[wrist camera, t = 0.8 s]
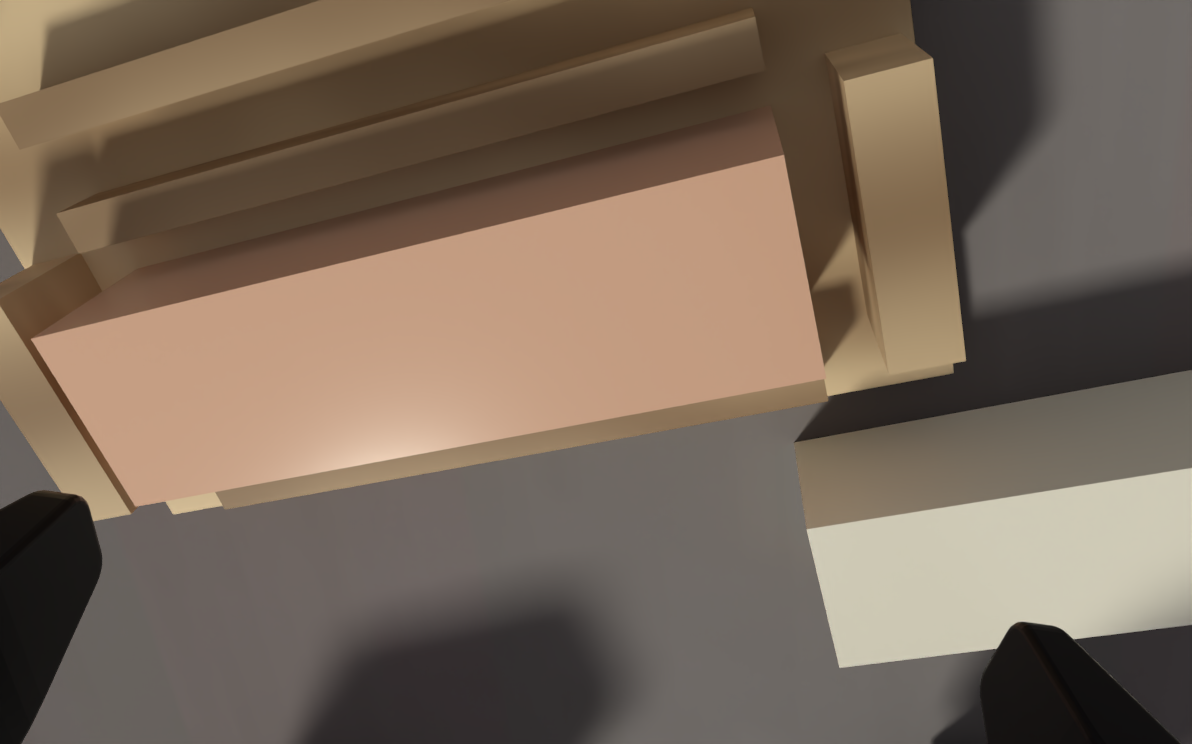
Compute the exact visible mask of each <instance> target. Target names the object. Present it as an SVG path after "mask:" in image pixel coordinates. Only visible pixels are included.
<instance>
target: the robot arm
mask: <svg viewBox="0 0 1192 744" xmlns="http://www.w3.org/2000/svg"><path fill="white" fill-rule="evenodd" d="M101 568H102V553H101V549H100V545H99V541H98V537H97V534H96V530H95V526H94V523H93V519H92V515H91V511H90V508H89V505H88V503H87V501H86V500H85V499H84V498H83V497H82V496H79V495H76V494H68V493H61V492H54V491H45V490H43V491H36V492H33V493H31V494H28V495H26V496H24V497H22V498H21V499H19V500H17V501H15V502H13V503H11V504H9V505H7V506H6V507H4V508H2V509H0V744H21V743H22V741H23V740H24V738H25V736H26V734H27V733H28V731H29V729H30V727H31V725H32V723H33V721H34V719H35V717H36V715H37V713H38V711H39V709H40V707H41V705H42V703H43V701H44V699H45V696H46V694H47V692H48V690H49V687H50V685H51V683H52V681H53V679H54V676H55V674H56V672H57V670H58V668H59V665H60V663H61V661H62V659H63V657H64V654H65V652H66V650H67V648H68V646H69V643H70V641H71V639H72V637H73V635H74V632H75V630H76V628H77V626H78V624H79V621H80V619H81V617H82V615H83V613H84V610H85V608H86V606H87V604H88V602H89V599H90V597H91V595H92V593H93V591H94V588H95V586H96V584H97V582H98V579H99V576H100V573H101ZM980 697H981V705H982V712H983V718H984V725H985V732H986V738H987V744H1181V743H1180V742H1179V741H1178V740H1177V739H1176V738H1175V737H1174V736H1173V735H1172V734H1171V733H1170V732H1169V731H1168V730H1167V729H1166V728H1165V727H1164V726H1163V725H1162V724H1160V723H1159V722H1158V721H1157V720H1156V719H1155V718H1154V717H1153V716H1152V715H1151V714H1150V713H1149V712H1148V711H1147V710H1146V709H1145V708H1144V707H1143V706H1142V705H1141V704H1140V703H1139V702H1138V701H1137V700H1136V699H1135V698H1134V697H1133V696H1132V695H1131V694H1130V693H1128V692H1127V691H1126V690H1125V689H1124V688H1123V687H1122V686H1121V685H1120V684H1119V683H1118V682H1117V681H1116V680H1115V679H1114V678H1113V677H1112V676H1111V675H1110V674H1109V673H1108V672H1107V671H1106V670H1105V669H1104V668H1103V667H1102V666H1101V665H1100V664H1099V663H1097V662H1096V661H1095V660H1094V659H1093V658H1092V657H1091V656H1090V655H1089V654H1088V653H1087V652H1086V651H1085V650H1084V649H1083V648H1082V647H1081V646H1080V645H1079V644H1078V643H1077V642H1076V641H1075V640H1074V639H1073V638H1072V637H1071V636H1070V635H1069V634H1067V633H1066V632H1065V631H1064V630H1062V629H1060V628H1058V627H1056V626H1052V625H1045V624H1037V623H1030V622H1017V623H1015V624H1014V625H1012V626H1011V627H1010V628H1009V629H1008V631H1007V632H1006V634H1005V636H1004V638H1003V639H1002V641H1001V643H1000V644H999V646H998V648H997V650H996V651H995V653H994V655H993V656H992V658H991V660H990V662H989V663H988V665H987V667H986V668H985V670H984V673H983V675H982V679H981V685H980Z"/></svg>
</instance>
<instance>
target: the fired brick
mask: <svg viewBox="0 0 1192 744" xmlns="http://www.w3.org/2000/svg"><path fill="white" fill-rule="evenodd" d="M31 340H32V342H33V343H34V345H35V346H36V348H37V350H38V351H39V353H40V354H41V356H42V358H43V359H44V361H45V362H46V364H47V366H48V367H49V369H50V370H51V372H52V374H53V375H54V377H55V378H56V380H57V382H58V383H59V385H60V386H61V388H62V390H63V391H64V393H65V394H66V396H67V398H68V399H69V401H70V403H71V404H72V406H73V407H74V409H75V411H76V412H77V414H78V415H79V417H80V419H81V420H82V422H83V423H84V425H85V427H86V428H87V430H88V431H89V433H90V435H91V436H92V438H93V439H94V441H95V443H96V444H97V446H98V447H99V449H100V451H101V452H102V454H103V455H104V457H105V459H106V460H107V462H108V463H109V465H110V467H111V468H112V470H113V471H114V473H115V475H116V476H117V478H118V479H119V481H120V483H121V484H122V486H123V487H124V489H125V491H126V492H127V494H128V495H129V497H130V499H131V500H132V502H133V503H134V505H135V507H137V506H142V505H148V504H153V503H158V502H164V501H169V500H175V499H180V498H185V497H191V496H196V495H202V494H207V493H212V492H218V491H223V490H229V489H234V488H239V487H245V486H250V485H256V484H261V483H266V482H272V481H277V480H282V479H288V478H293V477H299V476H304V475H309V474H315V473H320V472H326V471H331V470H336V469H342V468H347V467H353V466H358V465H363V464H369V463H374V462H380V461H385V460H390V459H396V458H401V457H407V456H412V455H417V454H423V453H428V452H434V451H439V450H444V449H450V448H455V447H461V446H466V445H471V444H477V443H482V442H488V441H493V440H498V439H504V438H509V437H515V436H520V435H525V434H531V433H536V432H541V431H547V430H552V429H558V428H563V427H568V426H574V425H579V424H585V423H590V422H595V421H601V420H606V419H612V418H617V417H622V416H628V415H633V414H639V413H644V412H649V411H655V410H660V409H666V408H671V407H676V406H682V405H687V404H693V403H698V402H703V401H709V400H714V399H720V398H725V397H730V396H736V395H741V394H747V393H752V392H757V391H763V390H768V389H774V388H779V387H784V386H790V385H795V384H800V383H806V382H811V381H817V380H822V379H826V374H825V369H824V363H823V358H822V353H821V348H820V342H819V337H818V332H817V326H816V321H815V316H814V311H813V305H812V300H811V295H810V290H809V284H808V279H807V274H806V268H805V263H804V258H803V253H802V247H801V242H800V237H799V231H798V226H797V221H796V216H795V210H794V205H793V200H792V194H791V189H790V184H789V179H788V173H787V168H786V163H785V158H784V153H783V149H782V145H781V142H780V138H779V134H778V131H777V127H776V123H775V119H774V116H773V112H772V108H771V105H770V106H766V107H763V108H759V109H755V110H751V111H747V112H743V113H739V114H735V115H731V116H728V117H724V118H720V119H716V120H712V121H708V122H704V123H700V124H697V125H693V126H689V127H685V128H681V129H677V130H673V131H669V132H666V133H662V134H658V135H654V136H650V137H646V138H642V139H638V140H635V141H631V142H627V143H623V144H619V145H615V146H611V147H607V148H603V149H600V150H596V151H592V152H588V153H584V154H580V155H576V156H572V157H569V158H565V159H561V160H557V161H553V162H549V163H545V164H541V165H538V166H534V167H530V168H526V169H522V170H518V171H514V172H510V173H507V174H503V175H499V176H495V177H491V178H487V179H483V180H479V181H475V182H472V183H468V184H464V185H460V186H456V187H452V188H448V189H444V190H441V191H437V192H433V193H429V194H425V195H421V196H417V197H413V198H410V199H406V200H402V201H398V202H394V203H390V204H386V205H382V206H379V207H375V208H371V209H367V210H363V211H359V212H355V213H351V214H347V215H344V216H340V217H336V218H332V219H328V220H324V221H320V222H316V223H313V224H309V225H305V226H301V227H297V228H293V229H289V230H285V231H282V232H278V233H274V234H270V235H266V236H262V237H258V238H254V239H251V240H247V241H243V242H239V243H235V244H231V245H227V246H223V247H219V248H216V249H212V250H208V251H204V252H200V253H196V254H192V255H188V256H185V257H181V258H177V259H173V260H169V261H165V262H161V263H157V264H154V265H150V266H146V267H142V268H138V269H136V270H134V271H133V272H131V273H130V274H128V275H127V276H125V277H124V278H122V279H121V280H119V281H118V282H116V283H115V284H113V285H111V286H110V287H108V288H107V289H105V290H104V291H102V292H101V293H99V294H98V295H96V296H95V297H93V298H92V299H90V300H89V301H87V302H86V303H84V304H83V305H81V306H80V307H78V308H77V309H75V310H74V311H72V312H71V313H69V314H68V315H66V316H65V317H63V318H62V319H60V320H59V321H57V322H56V323H54V324H53V325H51V326H50V327H48V328H46V329H45V330H43V331H42V332H40V333H39V334H37V335H36V336H34V337H33V338H31Z"/></svg>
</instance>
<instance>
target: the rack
mask: <svg viewBox="0 0 1192 744" xmlns="http://www.w3.org/2000/svg"><path fill="white" fill-rule="evenodd" d="M770 105H771V108H772V112H773V116H774V119H775V123H776V127H777V131H778V134H779V138H780V142H781V145H782V149H783V153H784V158H785V163H786V168H787V173H788V179H789V184H790V189H791V194H792V200H793V205H794V210H795V216H796V221H797V226H798V231H799V237H800V242H801V247H802V253H803V258H804V263H805V268H806V274H807V279H808V284H809V290H810V295H811V300H812V305H813V311H814V316H815V321H816V326H817V332H818V337H819V342H820V348H821V353H822V358H823V363H824V369H825V374H826V379H822V380H817V381H811V382H806V383H800V384H795V385H790V386H784V387H779V388H774V389H768V390H763V391H757V392H752V393H747V394H741V395H736V396H730V397H725V398H720V399H714V400H709V401H703V402H698V403H693V404H687V405H682V406H676V407H671V408H666V409H660V410H655V411H649V412H644V413H639V414H633V415H628V416H622V417H617V418H612V419H606V420H601V421H595V422H590V423H585V424H579V425H574V426H568V427H563V428H558V429H552V430H547V431H541V432H536V433H531V434H525V435H520V436H515V437H509V438H504V439H498V440H493V441H488V442H482V443H477V444H471V445H466V446H461V447H455V448H450V449H444V450H439V451H434V452H428V453H423V454H417V455H412V456H407V457H401V458H396V459H390V460H385V461H380V462H374V463H369V464H363V465H358V466H353V467H347V468H342V469H336V470H331V471H326V472H320V473H315V474H309V475H304V476H299V477H293V478H288V479H282V480H277V481H272V482H266V483H261V484H256V485H250V486H245V487H239V488H234V489H229V490H223V491H218V492H212V493H207V494H202V495H196V496H191V497H185V498H180V499H175V500H169V501H165V502H166V503H167V505H168V507H169V508H170V510H171V512H172V513H173V514H179V513H184V512H190V511H195V510H201V509H206V508H212V507H217V506H223V507H224V509H231V508H236V507H242V506H247V505H253V504H258V503H264V502H270V501H275V500H281V499H286V498H292V497H297V496H303V495H309V494H314V493H320V492H325V491H331V490H336V489H342V488H348V487H353V486H359V485H364V484H370V483H375V482H381V481H387V480H392V479H398V478H403V477H409V476H414V475H420V474H426V473H431V472H437V471H442V470H448V469H453V468H459V467H465V466H470V465H476V464H481V463H487V462H492V461H498V460H503V459H509V458H515V457H520V456H526V455H531V454H537V453H542V452H548V451H554V450H559V449H565V448H570V447H576V446H581V445H587V444H593V443H598V442H604V441H609V440H615V439H620V438H626V437H632V436H637V435H643V434H648V433H654V432H659V431H665V430H671V429H676V428H682V427H687V426H693V425H698V424H704V423H710V422H715V421H721V420H726V419H732V418H737V417H743V416H748V415H754V414H760V413H765V412H771V411H776V410H782V409H787V408H793V407H799V406H804V405H810V404H815V403H821V402H826V401H828V396H831V395H836V394H842V393H847V392H853V391H858V390H864V389H870V388H875V387H881V386H886V385H892V384H897V383H903V382H908V381H914V380H919V379H925V378H930V377H936V376H941V375H947V374H952V373H954V370H953V363H958V362H963V361H966V356H965V346H964V337H963V328H962V319H961V310H960V301H959V292H958V283H957V273H956V264H955V255H954V246H953V237H952V228H951V219H950V209H949V200H948V191H947V182H946V173H945V164H944V155H943V146H942V136H941V127H940V118H939V109H938V100H937V91H936V82H935V72H934V63H933V58H932V57H931V56H930V55H928V54H927V53H926V52H924V51H923V50H922V49H921V48H919V47H918V46H917V45H915V37H914V29H913V20H912V12H911V3H910V0H0V228H1V230H2V232H3V233H4V235H5V237H6V238H7V240H8V242H9V243H10V245H11V247H12V248H13V250H14V252H15V253H16V255H17V257H18V258H19V260H20V262H21V263H22V265H23V267H24V268H25V270H23V271H21V272H19V273H17V274H16V275H14V276H12V277H10V278H8V279H7V280H5V281H3V282H1V283H0V400H1V402H2V403H3V405H4V406H5V408H6V409H7V411H8V412H9V414H10V415H11V417H12V418H13V420H14V421H15V423H16V424H17V426H18V427H19V429H20V430H21V432H22V433H23V435H24V436H25V438H26V439H27V441H28V442H29V444H30V445H31V447H32V448H33V450H34V451H35V453H36V454H37V456H38V457H39V459H40V460H41V462H42V463H43V465H44V466H45V468H46V469H47V471H48V473H49V474H50V476H51V477H52V479H53V480H54V482H55V483H56V485H57V486H58V488H59V489H60V491H61V492H62V493H68V494H76V495H79V496H82V497H83V498H84V499H85V500H86V501H87V503H88V505H89V508H90V511H91V515H92V519H93V521H96V520H102V519H107V518H112V517H118V516H123V515H129V514H132V513H133V512H134V510H135V509H136V508H137V507H138V506H137V507H135V505H134V503H133V502H132V500H131V499H130V497H129V495H128V494H127V492H126V491H125V489H124V487H123V486H122V484H121V483H120V481H119V479H118V478H117V476H116V475H115V473H114V471H113V470H112V468H111V467H110V465H109V463H108V462H107V460H106V459H105V457H104V455H103V454H102V452H101V451H100V449H99V447H98V446H97V444H96V443H95V441H94V439H93V438H92V436H91V435H90V433H89V431H88V430H87V428H86V427H85V425H84V423H83V422H82V420H81V419H80V417H79V415H78V414H77V412H76V411H75V409H74V407H73V406H72V404H71V403H70V401H69V399H68V398H67V396H66V394H65V393H64V391H63V390H62V388H61V386H60V385H59V383H58V382H57V380H56V378H55V377H54V375H53V374H52V372H51V370H50V369H49V367H48V366H47V364H46V362H45V361H44V359H43V358H42V356H41V354H40V353H39V351H38V350H37V348H36V346H35V345H34V343H33V342H32V340H31V338H33V337H34V336H36V335H37V334H39V333H40V332H42V331H43V330H45V329H46V328H48V327H50V326H51V325H53V324H54V323H56V322H57V321H59V320H60V319H62V318H63V317H65V316H66V315H68V314H69V313H71V312H72V311H74V310H75V309H77V308H78V307H80V306H81V305H83V304H84V303H86V302H87V301H89V300H90V299H92V298H93V297H95V296H96V295H98V294H99V293H101V292H102V291H104V290H105V289H107V288H108V287H110V286H111V285H113V284H115V283H116V282H118V281H119V280H121V279H122V278H124V277H125V276H127V275H128V274H130V273H131V272H133V271H134V270H136V269H138V268H142V267H146V266H150V265H154V264H157V263H161V262H165V261H169V260H173V259H177V258H181V257H185V256H188V255H192V254H196V253H200V252H204V251H208V250H212V249H216V248H219V247H223V246H227V245H231V244H235V243H239V242H243V241H247V240H251V239H254V238H258V237H262V236H266V235H270V234H274V233H278V232H282V231H285V230H289V229H293V228H297V227H301V226H305V225H309V224H313V223H316V222H320V221H324V220H328V219H332V218H336V217H340V216H344V215H347V214H351V213H355V212H359V211H363V210H367V209H371V208H375V207H379V206H382V205H386V204H390V203H394V202H398V201H402V200H406V199H410V198H413V197H417V196H421V195H425V194H429V193H433V192H437V191H441V190H444V189H448V188H452V187H456V186H460V185H464V184H468V183H472V182H475V181H479V180H483V179H487V178H491V177H495V176H499V175H503V174H507V173H510V172H514V171H518V170H522V169H526V168H530V167H534V166H538V165H541V164H545V163H549V162H553V161H557V160H561V159H565V158H569V157H572V156H576V155H580V154H584V153H588V152H592V151H596V150H600V149H603V148H607V147H611V146H615V145H619V144H623V143H627V142H631V141H635V140H638V139H642V138H646V137H650V136H654V135H658V134H662V133H666V132H669V131H673V130H677V129H681V128H685V127H689V126H693V125H697V124H700V123H704V122H708V121H712V120H716V119H720V118H724V117H728V116H731V115H735V114H739V113H743V112H747V111H751V110H755V109H759V108H763V107H766V106H770Z"/></svg>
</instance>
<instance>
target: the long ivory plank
mask: <svg viewBox="0 0 1192 744" xmlns="http://www.w3.org/2000/svg"><path fill="white" fill-rule="evenodd" d="M794 446H795V453H796V460H797V467H798V473H799V480H800V487H801V494H802V501H803V508H804V514H805V521H806V528H807V533H808V537H809V541H810V545H811V550H812V554H813V558H814V562H815V566H816V571H817V575H818V579H819V583H820V587H821V592H822V596H823V600H824V604H825V608H826V613H827V617H828V621H829V625H830V629H831V634H832V638H833V642H834V646H835V650H836V655H837V659H838V663H839V667H840V668H842V667H850V666H858V665H867V664H875V663H883V662H891V661H899V660H908V659H916V658H924V657H932V656H940V655H949V654H957V653H965V652H973V651H981V650H989V649H997V648H998V646H999V644H1000V643H1001V641H1002V639H1003V638H1004V636H1005V634H1006V632H1007V631H1008V629H1009V628H1010V627H1011V626H1012V625H1014V624H1015V623H1017V622H1030V623H1037V624H1045V625H1052V626H1056V627H1058V628H1060V629H1062V630H1064V631H1065V632H1066V633H1067V634H1069V635H1070V636H1071V637H1072V638H1073V639H1080V638H1088V637H1096V636H1104V635H1112V634H1121V633H1129V632H1137V631H1145V630H1153V629H1161V628H1170V627H1178V626H1186V625H1192V370H1188V371H1183V372H1177V373H1172V374H1166V375H1161V376H1156V377H1150V378H1145V379H1139V380H1134V381H1128V382H1123V383H1117V384H1112V385H1106V386H1101V387H1095V388H1090V389H1084V390H1079V391H1073V392H1068V393H1062V394H1057V395H1052V396H1046V397H1041V398H1035V399H1030V400H1024V401H1019V402H1013V403H1008V404H1002V405H997V406H991V407H986V408H980V409H975V410H969V411H964V412H958V413H953V414H948V415H942V416H937V417H931V418H926V419H920V420H915V421H909V422H904V423H898V424H893V425H887V426H882V427H876V428H871V429H865V430H860V431H854V432H849V433H844V434H838V435H833V436H827V437H822V438H816V439H811V440H805V441H800V442H794Z"/></svg>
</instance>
